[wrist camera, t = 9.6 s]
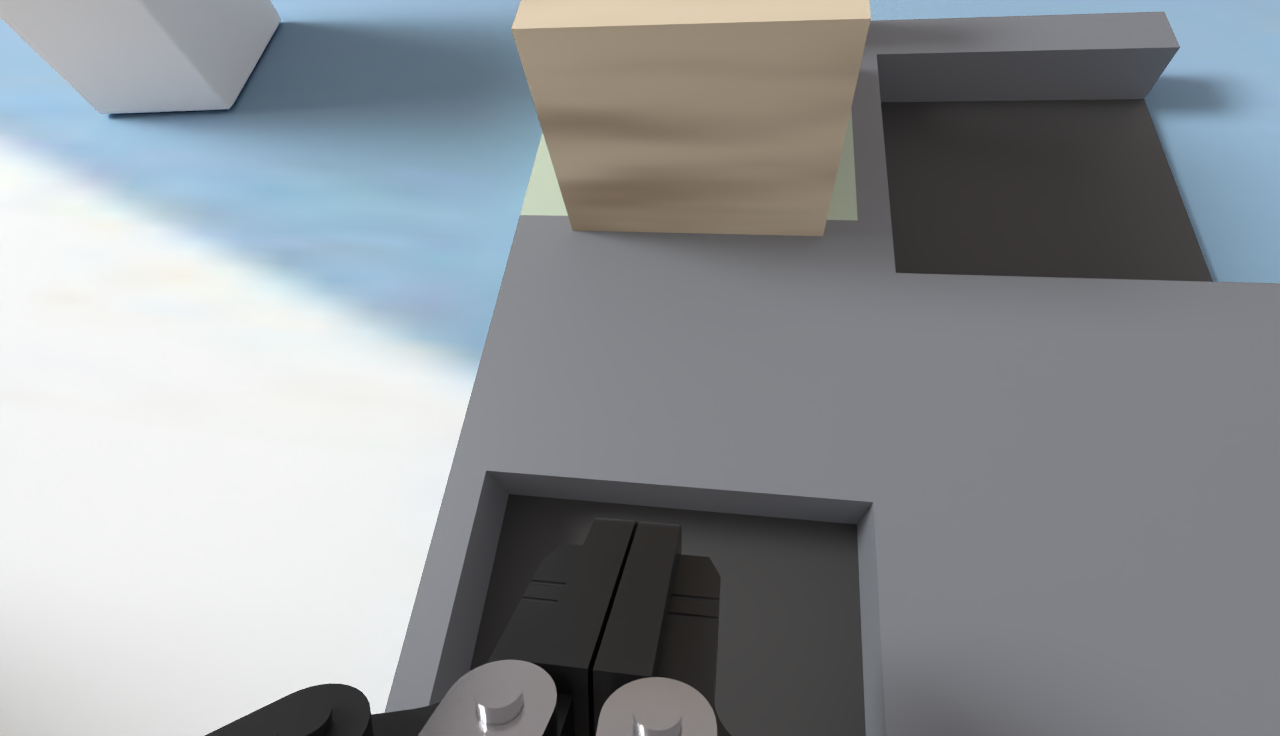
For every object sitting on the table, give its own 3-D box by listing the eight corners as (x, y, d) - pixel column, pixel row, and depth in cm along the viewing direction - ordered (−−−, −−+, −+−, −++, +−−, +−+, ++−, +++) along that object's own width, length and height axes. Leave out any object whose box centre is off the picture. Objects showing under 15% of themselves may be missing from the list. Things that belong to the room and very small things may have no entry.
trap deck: (1486, 1063, 12) (2206, 1392, 6) (392, 859, 15) (196, 948, 9) (1124, 73, 25) (1245, -117, 19) (581, 83, 28) (547, -76, 22)
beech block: (823, 236, 19) (871, 18, 13) (572, 230, 21) (511, 29, 15) (820, 67, 23) (856, -164, 17) (608, 71, 24) (571, -144, 18)
